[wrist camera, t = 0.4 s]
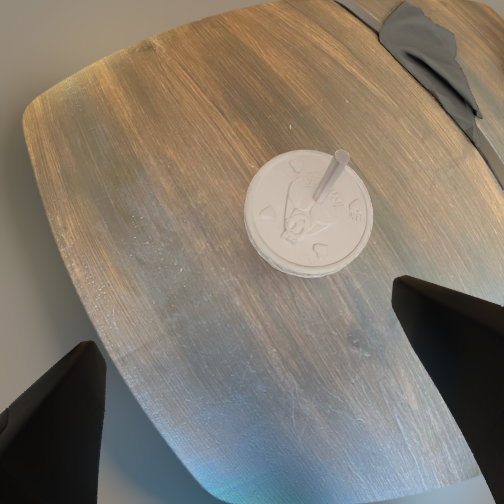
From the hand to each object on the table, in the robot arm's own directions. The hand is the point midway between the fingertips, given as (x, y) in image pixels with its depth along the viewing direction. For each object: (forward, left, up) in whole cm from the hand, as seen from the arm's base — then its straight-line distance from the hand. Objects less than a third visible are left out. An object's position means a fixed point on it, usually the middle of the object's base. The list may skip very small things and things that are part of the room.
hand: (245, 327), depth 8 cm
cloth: (+7, -37, -15) cm, 40 cm away
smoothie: (+2, -6, -15) cm, 16 cm away
